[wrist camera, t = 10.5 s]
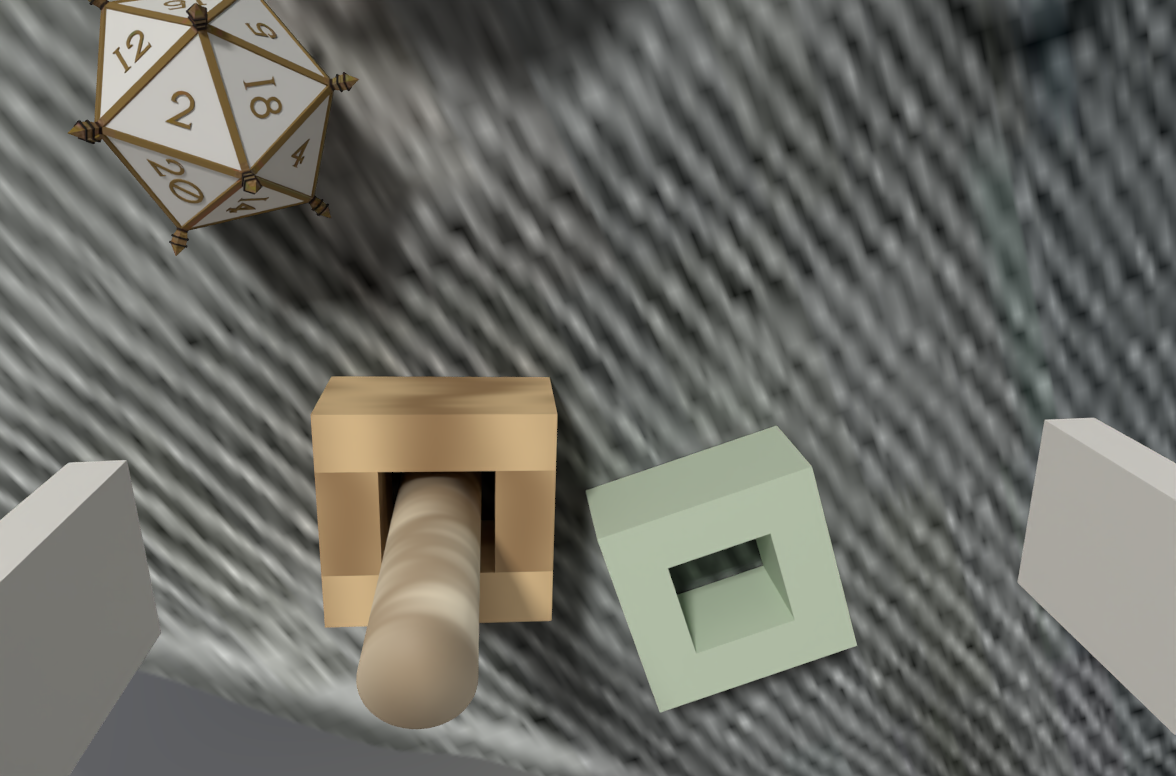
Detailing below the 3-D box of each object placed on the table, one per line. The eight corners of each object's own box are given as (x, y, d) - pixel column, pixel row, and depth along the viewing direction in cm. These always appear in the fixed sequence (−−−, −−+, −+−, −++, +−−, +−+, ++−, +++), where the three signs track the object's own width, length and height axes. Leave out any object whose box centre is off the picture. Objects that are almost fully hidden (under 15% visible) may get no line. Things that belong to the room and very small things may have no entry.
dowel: (481, 438, 38) (478, 626, 24) (481, 509, 39) (478, 726, 26) (401, 438, 37) (353, 630, 24) (403, 510, 38) (359, 731, 25)
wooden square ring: (549, 377, 37) (557, 414, 33) (544, 564, 40) (551, 620, 36) (331, 376, 36) (310, 414, 32) (342, 568, 39) (325, 627, 35)
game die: (317, 126, 36) (404, 271, 31) (96, 172, 33) (148, 342, 28) (277, -108, 30) (379, 22, 24) (-5, -79, 27) (37, 78, 21)
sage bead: (776, 425, 39) (811, 466, 35) (819, 589, 42) (856, 645, 38) (585, 490, 39) (597, 539, 35) (642, 649, 42) (659, 712, 38)
